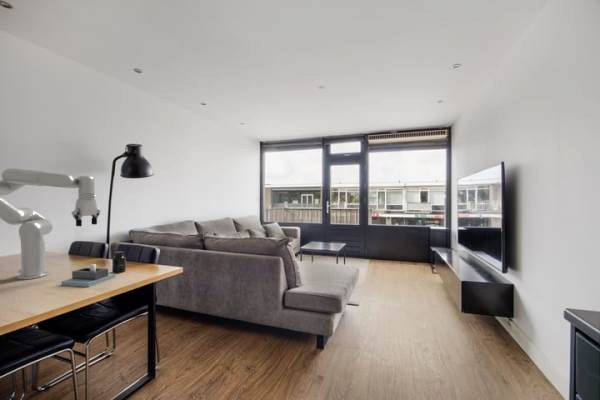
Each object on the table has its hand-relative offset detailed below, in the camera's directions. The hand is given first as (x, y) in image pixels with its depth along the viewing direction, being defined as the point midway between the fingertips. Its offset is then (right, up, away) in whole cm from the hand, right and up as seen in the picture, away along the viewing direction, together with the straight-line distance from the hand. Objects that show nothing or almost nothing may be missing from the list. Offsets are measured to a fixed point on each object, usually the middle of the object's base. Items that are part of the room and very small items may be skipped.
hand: (86, 225), depth 158 cm
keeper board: (+15, -29, -16) cm, 36 cm away
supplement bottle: (+18, -29, +2) cm, 34 cm away
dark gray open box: (+15, -27, -16) cm, 34 cm away
